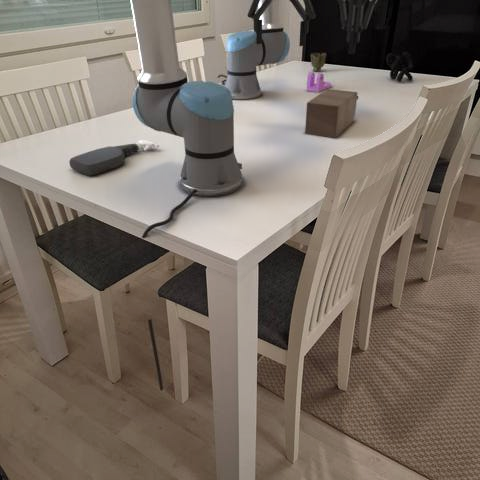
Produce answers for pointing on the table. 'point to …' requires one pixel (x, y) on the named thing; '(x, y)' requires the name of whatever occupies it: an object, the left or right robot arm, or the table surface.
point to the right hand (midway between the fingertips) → (351, 53)
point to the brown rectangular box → (330, 113)
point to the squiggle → (399, 66)
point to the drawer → (356, 101)
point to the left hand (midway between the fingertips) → (280, 44)
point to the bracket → (317, 82)
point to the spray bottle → (106, 157)
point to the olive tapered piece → (318, 60)
